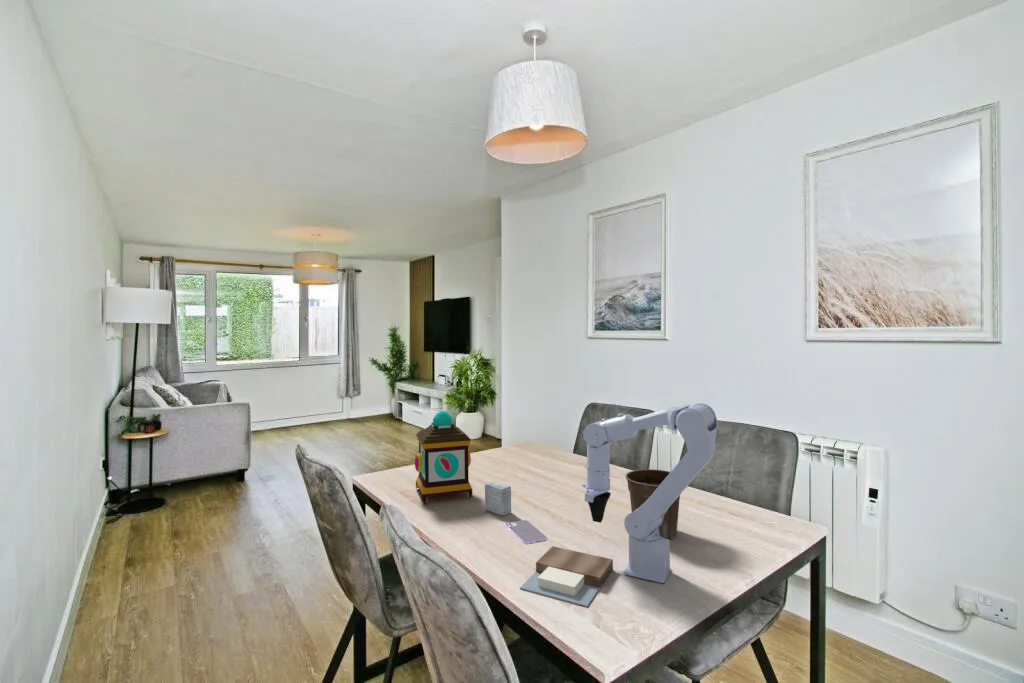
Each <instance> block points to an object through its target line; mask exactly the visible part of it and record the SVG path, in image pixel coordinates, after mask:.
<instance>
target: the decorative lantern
mask: <svg viewBox="0 0 1024 683" xmlns="http://www.w3.org/2000/svg"><path fill="white" fill-rule="evenodd" d="M415 436H416V439H417V441H418V453H417V454H416V455H415V457H414V467H415V470H416V472H418V475H417V477H416V480H415V488H416V489H417V488H419V490H418V491H419V492H420V494H421V501H422V504H423V503H426V504H427V501H428V500H427V499H428V497H430V496H431V497H432V496H440V495H448V494H459V493H464V492H465V493H466V494H467V498H468V497H469V498H471V497H473V488H472V485H471V483H470V480H469V479H470V478H469V467H470V466H471V462H472V458H471V453H470V450H469V446H470V444H471V441H472V439H471V437H469V435H468V434H466V433H465V432H464V431H463V430H462V429H461V428H460V427H458V426H456V425H455V424H454V423H453V417H452V415H451V414H450V413H449V412H448V411H446V410H440V411H438V412H437V413H436V414H434V416H433V418H432V422H431V424H430V425H428V427H426V428H421V429H420V430H419V431H417V433H416V434H415ZM469 498H468V499H469ZM471 499H472V498H471Z"/></svg>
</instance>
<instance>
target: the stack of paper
mask: <svg viewBox="0 0 1024 683" xmlns="http://www.w3.org/2000/svg"><path fill="white" fill-rule="evenodd" d="M484 510H485V511H486V510H488V511H487V512H489V511H491V512H490V513H492V512H494V513H493V514H495V513H496V514H495V515H498V514H499V515H498V516H501V515H502V516H501V517H503V515H504V516H506V514H507V515H508V513H509V514H511V513H512V487H511V486H510V485H508V484H503V483H500V482H496V481H492V482H489V483H486V484H485V485H484ZM510 512H511V513H510Z"/></svg>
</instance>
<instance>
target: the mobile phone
mask: <svg viewBox="0 0 1024 683" xmlns="http://www.w3.org/2000/svg"><path fill="white" fill-rule="evenodd" d="M504 527H506V528H507V529H508V530H509V531H510V532H511V533H512V534H513V535H514V536H515V537H516V538H517V539H518V541H520V542H521V543H522V544H524V545H529V543H530V544H534V542H536V543H540V542H545V541H544V540H546V541H548V537H547V536H546V535H545V534H544V533H543V532H542V531H540V530H539V529H538V528H537V527H536V526H534V525H533V524H532V523H531V522H530V521H529V520H526V519H523V520H517V521H511V522H507V523H505V524H504ZM537 541H538V542H537ZM539 541H540V542H539Z"/></svg>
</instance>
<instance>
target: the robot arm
mask: <svg viewBox="0 0 1024 683" xmlns="http://www.w3.org/2000/svg"><path fill="white" fill-rule="evenodd" d="M662 426H667V427H669V429H672V430H676V429H677V431H678V432H679V434H680V436H681V437H682V439H683V441H684V443H685V446H686V448H687V452H686V453H685V454H684V456H683V457H682V458H681V459H680V460H679V461H678V463H677V464H676V465H675V466H674V467H673V469H672V470H671V471H669V472H670V473H669V475H668V476H667V477H666V478H665V479H664V481H663V482H662V483H661V484H660V485H659V487H658V488H657V489H656V490H655V491H654V493H653V494H652V495H651V496H650V497H649V498H648V499H647V500H646V501H645V502H644V503H643V504H642V505H641V506H640V507H639V508H638V509H636V510H635V511H633V512H632V511H631V512H630V513H628V514H626V516H625V518H624V521H623V524H624V529H625V531H626V532H627V534H628V565H626V568H625V570H624V571H623V575H625V576H630V577H634V578H635V577H636V578H639V579H643V580H647V581H653V582H656V583H660V584H665V582H666V580H667V578H668V575H669V573H670V571H671V564H670V563H671V562H670V561H671V555H670V554H671V545H670V539H665V538H663V537H661V536H660V534H659V526H660V525H661V524H662V522H663V517H664V514H665V513H666V512H667V511H668V508H669V507H670V506H671V505H672V503H673V502H674V501H675V500H676V499H677V498H678V497H679V495H680V496H681V494H682V493H683V492H684V491H685V490H686V489H687V488H688V487H689V485H690V484H691V483H692V481H693V480H695V478H696V477H697V476H698V475H699V474H700V472H701V471H702V470H704V468H705V467H706V465H707V464H708V463H709V462H710V461H711V460H712V459H713V457H714V455H715V450H716V439H717V431H718V428H719V422H718V419H717V415H716V413H715V411H714V409H713V408H712V407H711V406H710V405H708V404H706V403H702V402H701V403H696V404H693V405H692V406H691V404H688V405H687V404H686V405H680V406H674V407H669V408H665V409H662V410H658V411H654V412H651V413H648V414H644V415H641V416H637V417H635V416H633V415H632V414H629V413H628V414H625V412H621V413H619V414H617V415H616V416H615V417H611V418H607V417H604V418H601V420H598V421H596V422H592V423H590V424H588V425H587V426H585V427H584V429H583V433H582V434H583V435H582V437H583V441H585V443H586V447H587V448H586V450H587V451H586V453H587V454H586V482H583V483H582V488H585V492H584V502H587V504H588V506H589V510H590V514H591V519H592V521H593V523H594V522H595V523H600V524H601V523H602V522H603V520H604V516H605V510H606V506H607V503H608V501H609V499H610V497H611V493H612V492H610V490H611V478H610V472H611V470H610V464H611V462H610V460H611V457H610V455H611V443H614V442H618V441H623V440H628V439H633V438H636V436H637V434H638V432H639V431H644V430H648V429H653V428H657V427H662Z"/></svg>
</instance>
